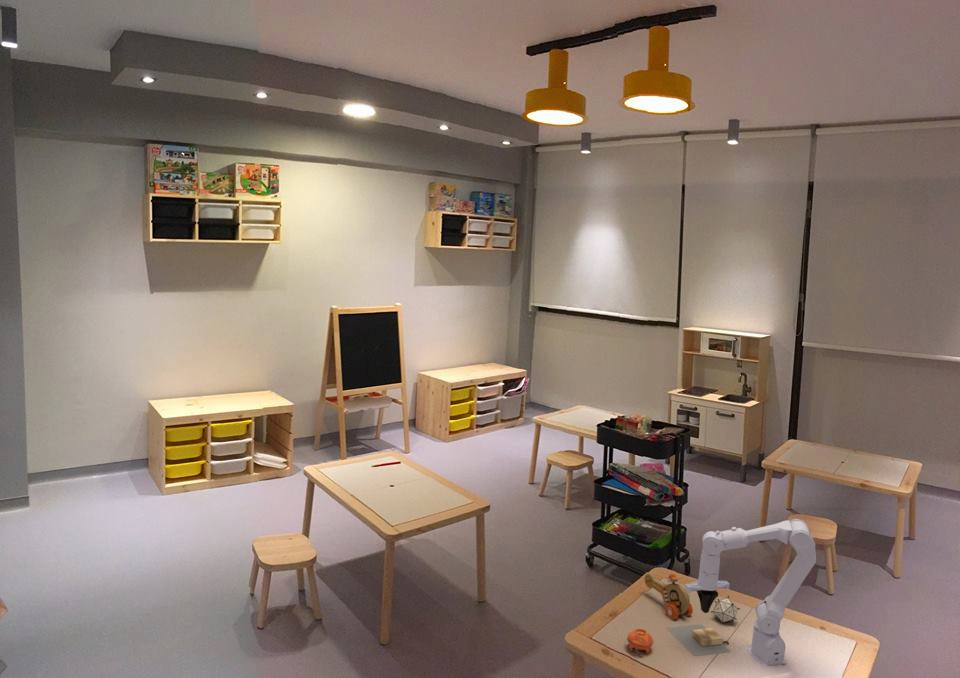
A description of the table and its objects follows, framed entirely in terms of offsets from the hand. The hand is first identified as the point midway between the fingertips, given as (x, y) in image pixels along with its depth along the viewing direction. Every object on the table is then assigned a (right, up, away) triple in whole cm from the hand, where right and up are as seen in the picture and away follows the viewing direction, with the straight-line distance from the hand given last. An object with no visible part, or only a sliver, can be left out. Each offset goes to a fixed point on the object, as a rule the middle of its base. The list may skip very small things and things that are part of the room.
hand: (704, 611), depth 219 cm
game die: (+11, -10, +15) cm, 21 cm away
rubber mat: (-2, -10, +2) cm, 11 cm away
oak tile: (-2, -9, +1) cm, 9 cm away
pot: (-22, -10, -5) cm, 24 cm away
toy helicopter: (-6, -8, +21) cm, 24 cm away
